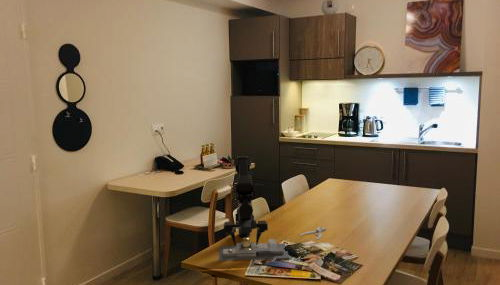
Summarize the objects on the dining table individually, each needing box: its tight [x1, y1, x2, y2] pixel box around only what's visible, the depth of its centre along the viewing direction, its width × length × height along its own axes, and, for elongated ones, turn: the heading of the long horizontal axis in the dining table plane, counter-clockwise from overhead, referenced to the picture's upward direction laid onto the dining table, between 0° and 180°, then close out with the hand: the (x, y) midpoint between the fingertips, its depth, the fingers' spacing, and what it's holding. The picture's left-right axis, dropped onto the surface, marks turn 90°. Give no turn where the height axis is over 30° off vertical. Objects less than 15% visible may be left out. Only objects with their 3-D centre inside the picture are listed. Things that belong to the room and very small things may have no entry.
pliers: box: [299, 226, 327, 241], centre depth 202 cm, size 10×2×15 cm
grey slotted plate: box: [223, 247, 284, 258], centre depth 178 cm, size 8×26×2 cm, turn 93°
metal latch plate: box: [236, 238, 278, 254], centre depth 177 cm, size 8×17×3 cm, turn 93°
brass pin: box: [242, 236, 251, 248], centre depth 177 cm, size 3×3×7 cm
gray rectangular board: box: [217, 243, 290, 262], centre depth 180 cm, size 16×30×1 cm, turn 93°
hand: (246, 245), depth 177 cm, fingers open, 9 cm apart
